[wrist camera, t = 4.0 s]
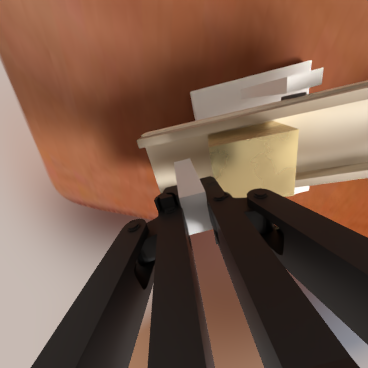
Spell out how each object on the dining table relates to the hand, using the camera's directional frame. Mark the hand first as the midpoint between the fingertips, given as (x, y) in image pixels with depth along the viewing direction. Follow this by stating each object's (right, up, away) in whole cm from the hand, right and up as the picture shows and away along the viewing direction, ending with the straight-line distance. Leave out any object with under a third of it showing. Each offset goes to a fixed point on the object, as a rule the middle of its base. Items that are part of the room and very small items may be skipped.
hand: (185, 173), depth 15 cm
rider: (+6, +2, +1) cm, 6 cm away
